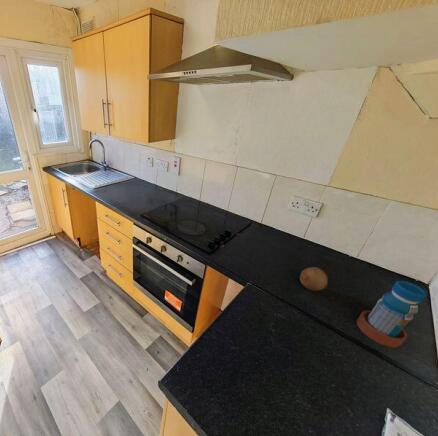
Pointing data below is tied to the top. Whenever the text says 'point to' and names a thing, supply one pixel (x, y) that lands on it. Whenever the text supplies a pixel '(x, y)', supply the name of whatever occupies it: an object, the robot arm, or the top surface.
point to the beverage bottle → (396, 308)
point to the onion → (314, 279)
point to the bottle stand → (376, 334)
